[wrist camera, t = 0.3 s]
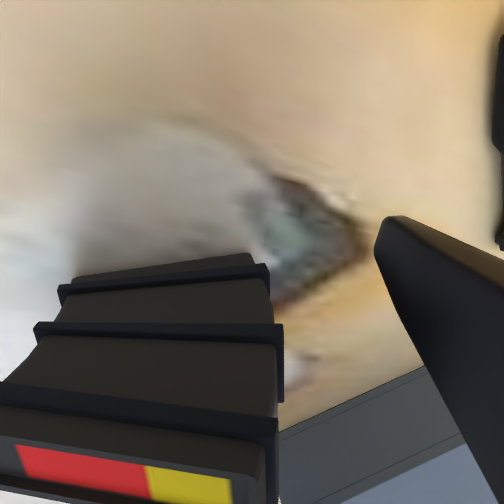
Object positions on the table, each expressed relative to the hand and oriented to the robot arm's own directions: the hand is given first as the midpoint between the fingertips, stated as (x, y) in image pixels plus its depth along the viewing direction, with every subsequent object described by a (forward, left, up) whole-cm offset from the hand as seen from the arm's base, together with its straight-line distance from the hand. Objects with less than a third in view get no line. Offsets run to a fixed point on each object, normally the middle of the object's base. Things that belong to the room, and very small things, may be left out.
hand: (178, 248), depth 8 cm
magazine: (-8, -5, -16) cm, 18 cm away
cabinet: (-12, -30, -15) cm, 36 cm away
